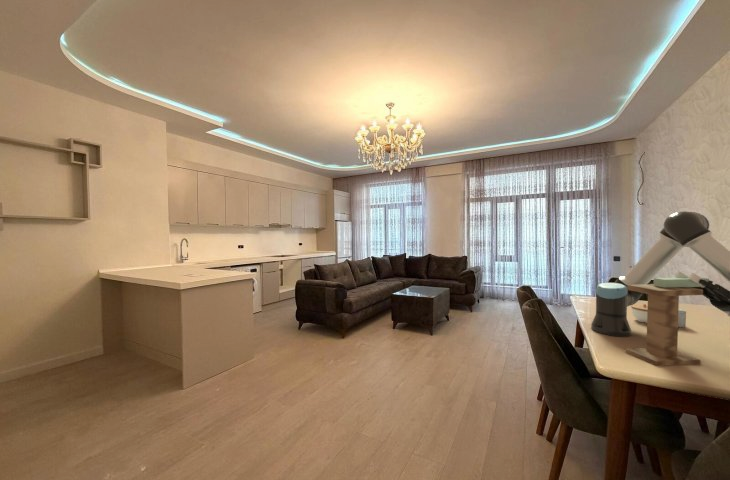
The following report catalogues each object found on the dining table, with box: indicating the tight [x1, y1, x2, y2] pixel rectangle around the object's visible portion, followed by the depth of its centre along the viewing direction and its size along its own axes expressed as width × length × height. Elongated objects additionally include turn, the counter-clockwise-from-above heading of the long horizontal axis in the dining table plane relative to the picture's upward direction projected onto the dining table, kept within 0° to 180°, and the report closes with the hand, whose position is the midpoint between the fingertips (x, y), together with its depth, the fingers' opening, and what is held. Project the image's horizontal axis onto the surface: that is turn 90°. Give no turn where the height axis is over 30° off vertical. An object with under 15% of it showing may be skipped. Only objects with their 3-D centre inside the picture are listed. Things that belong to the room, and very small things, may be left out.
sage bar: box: [653, 276, 710, 288], centre depth 114 cm, size 19×4×3 cm, turn 95°
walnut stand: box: [625, 283, 703, 367], centre depth 114 cm, size 18×12×28 cm, turn 95°
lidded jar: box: [631, 303, 648, 324], centre depth 160 cm, size 11×11×9 cm
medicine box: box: [678, 308, 687, 328], centre depth 152 cm, size 8×4×9 cm, turn 58°
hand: (684, 275), depth 114 cm, fingers closed on sage bar, 4 cm apart
